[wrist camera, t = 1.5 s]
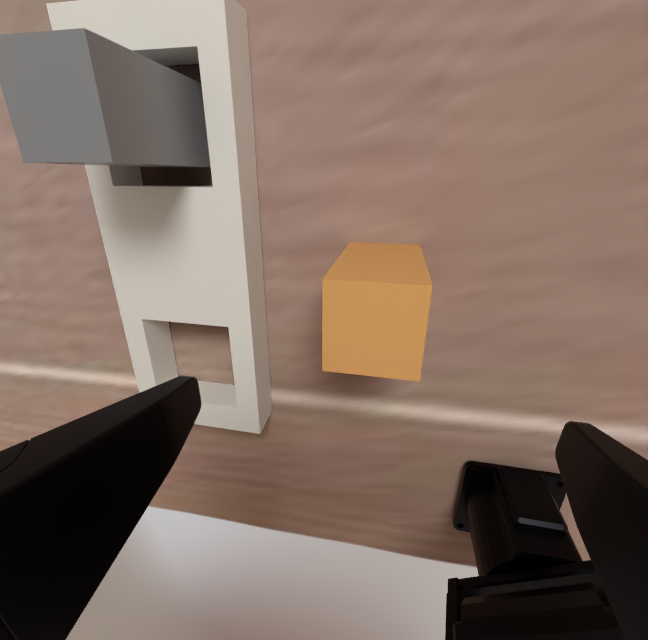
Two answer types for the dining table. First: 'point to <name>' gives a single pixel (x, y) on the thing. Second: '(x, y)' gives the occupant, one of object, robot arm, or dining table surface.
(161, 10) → the white slotted frame
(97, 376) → the dining table surface
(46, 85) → the gray plug
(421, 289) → the orange plug
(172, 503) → the dining table surface
